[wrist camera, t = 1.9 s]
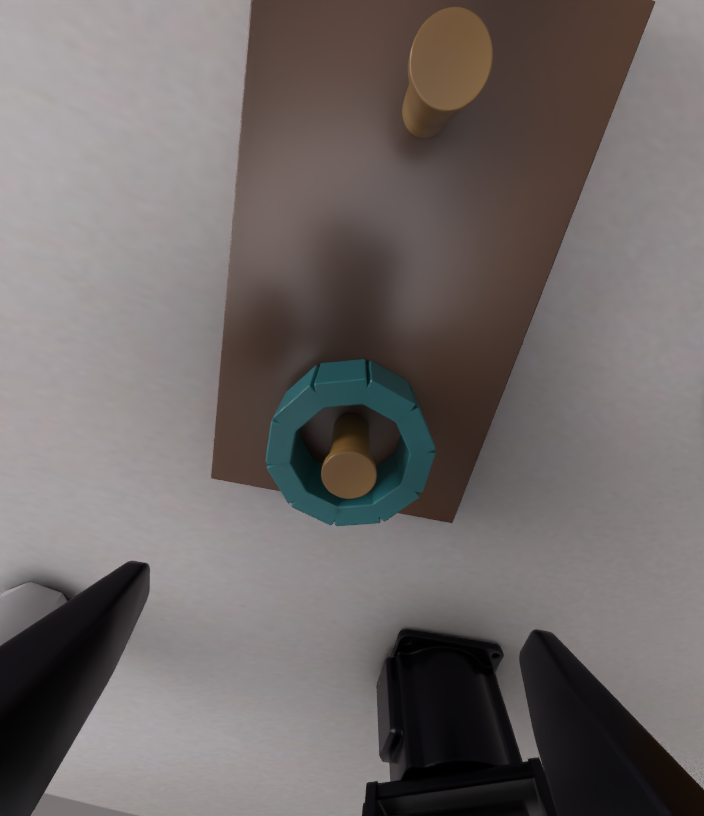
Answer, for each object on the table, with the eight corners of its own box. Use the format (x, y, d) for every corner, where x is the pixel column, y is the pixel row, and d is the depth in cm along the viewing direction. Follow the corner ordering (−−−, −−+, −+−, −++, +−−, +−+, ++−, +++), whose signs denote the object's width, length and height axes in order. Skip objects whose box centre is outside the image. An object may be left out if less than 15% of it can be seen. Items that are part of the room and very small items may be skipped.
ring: (441, 374, 16) (455, 397, 14) (401, 502, 19) (407, 539, 17) (291, 343, 16) (279, 360, 14) (270, 477, 19) (257, 512, 16)
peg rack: (635, 18, 13) (782, -103, 8) (448, 510, 20) (472, 585, 16) (267, -86, 12) (213, -280, 7) (217, 467, 20) (176, 533, 15)
